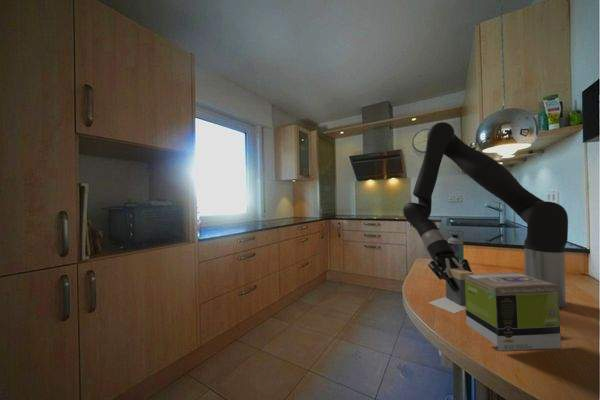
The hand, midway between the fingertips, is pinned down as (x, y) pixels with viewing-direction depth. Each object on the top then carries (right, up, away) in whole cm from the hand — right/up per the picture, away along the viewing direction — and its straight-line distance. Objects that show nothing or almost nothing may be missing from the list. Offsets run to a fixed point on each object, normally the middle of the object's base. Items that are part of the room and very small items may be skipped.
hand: (464, 290), depth 73 cm
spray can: (+12, -6, +22) cm, 25 cm away
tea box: (0, -6, -16) cm, 17 cm away
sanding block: (0, -4, +2) cm, 5 cm away
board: (-3, -6, +1) cm, 6 cm away
